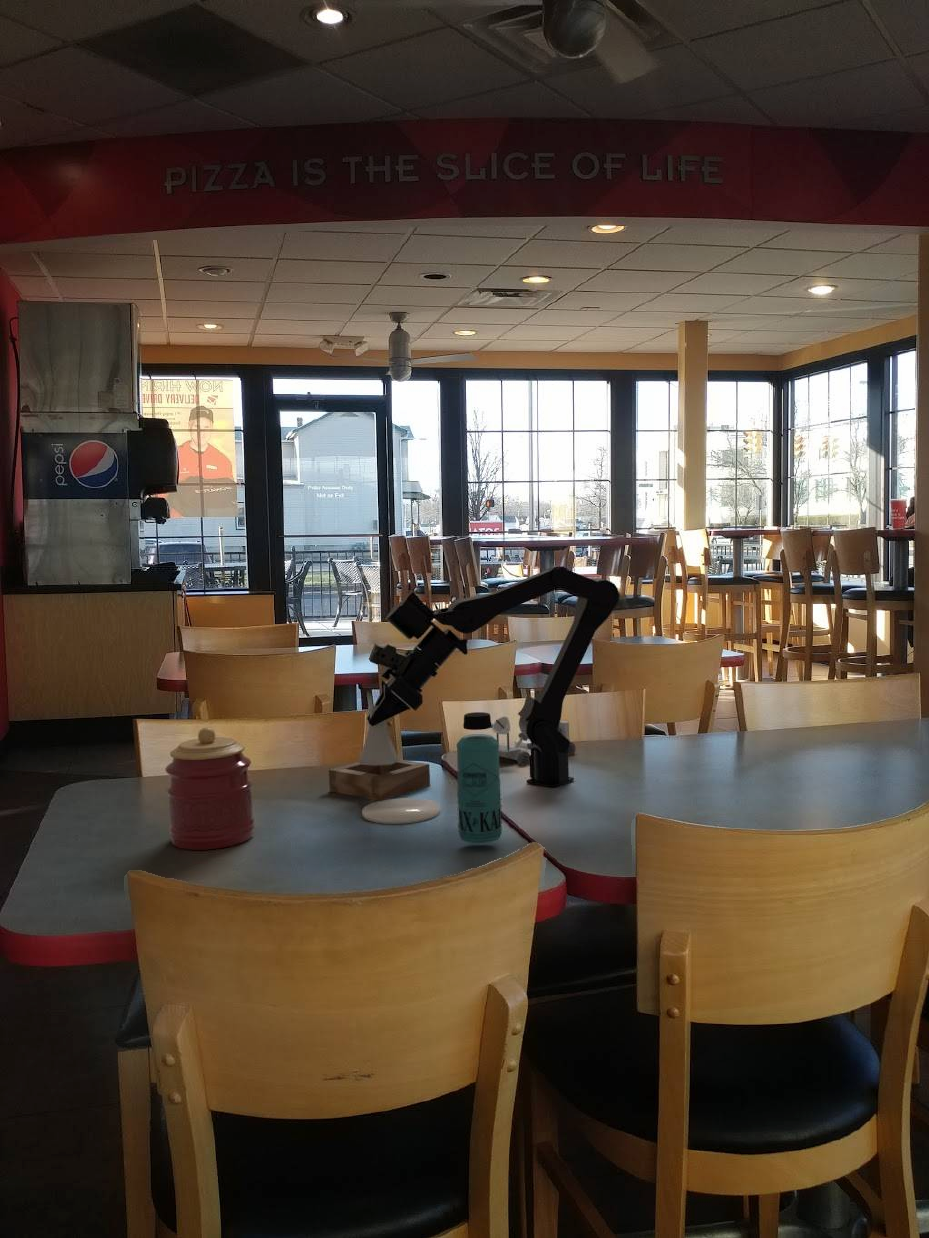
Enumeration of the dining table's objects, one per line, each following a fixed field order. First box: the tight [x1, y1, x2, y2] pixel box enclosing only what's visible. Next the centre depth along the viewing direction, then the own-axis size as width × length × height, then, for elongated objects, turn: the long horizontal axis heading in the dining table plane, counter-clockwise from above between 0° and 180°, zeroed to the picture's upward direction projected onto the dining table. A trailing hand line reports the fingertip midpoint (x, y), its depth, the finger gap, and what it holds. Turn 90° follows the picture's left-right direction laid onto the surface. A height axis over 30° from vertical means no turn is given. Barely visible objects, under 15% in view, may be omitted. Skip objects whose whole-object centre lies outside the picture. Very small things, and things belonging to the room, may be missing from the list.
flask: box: [358, 705, 400, 766], centre depth 185 cm, size 7×7×10 cm
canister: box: [165, 727, 255, 851], centre depth 162 cm, size 13×13×18 cm
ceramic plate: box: [361, 797, 441, 825], centre depth 173 cm, size 13×13×1 cm
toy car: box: [490, 716, 577, 767], centre depth 212 cm, size 18×10×12 cm
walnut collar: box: [328, 758, 431, 802], centre depth 190 cm, size 13×13×4 cm
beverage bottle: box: [456, 711, 503, 844], centre depth 152 cm, size 6×7×20 cm
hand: (369, 722), depth 184 cm, fingers closed on flask, 3 cm apart
